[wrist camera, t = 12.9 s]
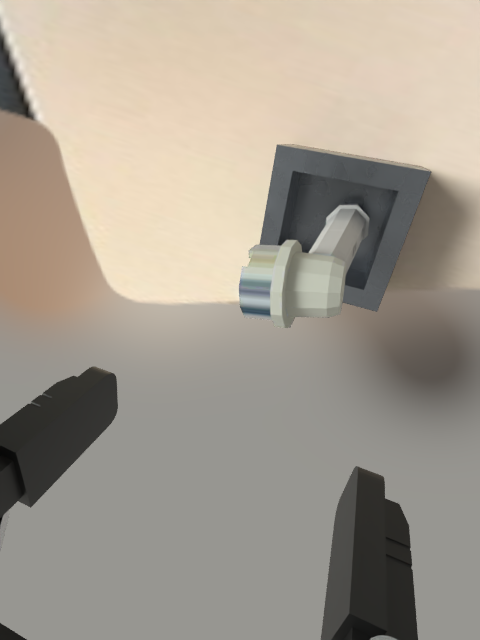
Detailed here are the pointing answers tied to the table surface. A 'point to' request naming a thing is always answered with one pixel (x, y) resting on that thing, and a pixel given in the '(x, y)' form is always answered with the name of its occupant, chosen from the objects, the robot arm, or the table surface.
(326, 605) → the robot arm
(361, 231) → the light grey piece
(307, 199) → the open box
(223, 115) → the table surface
